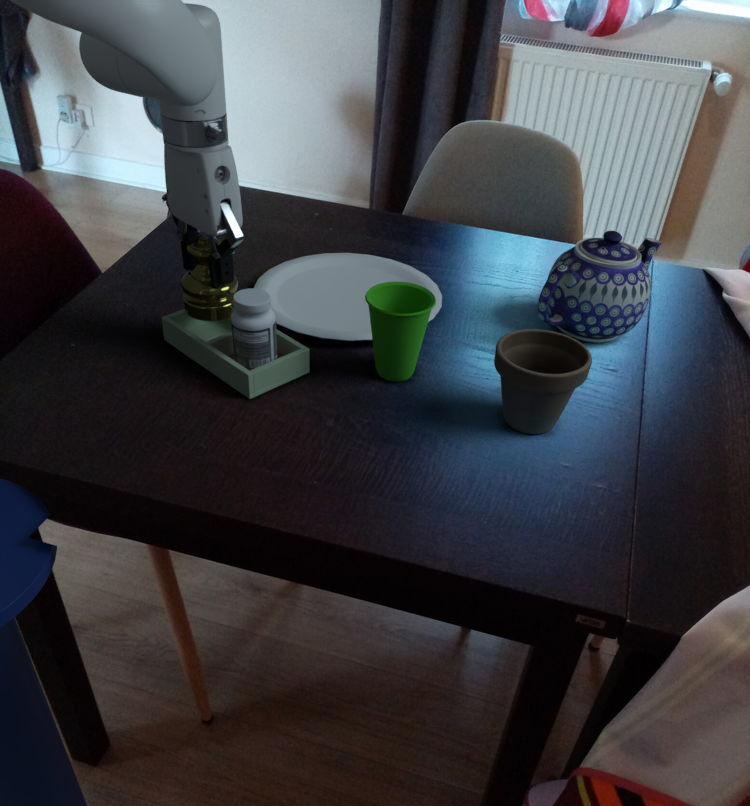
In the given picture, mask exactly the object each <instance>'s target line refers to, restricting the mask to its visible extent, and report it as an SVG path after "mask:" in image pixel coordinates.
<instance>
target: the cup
mask: <svg viewBox="0 0 750 806" xmlns="http://www.w3.org/2000/svg"><path fill="white" fill-rule="evenodd" d="M365 300H366V302H367V303H368V306H369V314H370V323H371V331H372V340H373V341H372V347H373V356H374V364H375V371H376V372H377V374H378V376H379V377H380V378H382V379H384V380H387V381H389V382H390V381H391V382H404V381H407V380H409V379H410V378H411V377H412V375H413V374H414V373H415V371H416V366H417V363H418V359H419V356H420V352H421V349H422V345H423V341H424V338H425V334H426V331H427V327H428V324H429V323H428V320H429V317H430V313H431V310H432V309H433V307H434V306H435V305H436V299H435V296H434V295H433V293H432V292H431V291H429V290H428V289H426V288H424V287H422V286H420V285H417V284H413V283H408V282H386V283H381V284H378V285H375V286H373V287H371V288H370V289H369V290H368V291H367V293H366V295H365Z"/></svg>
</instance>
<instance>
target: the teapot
mask: <svg viewBox="0 0 750 806" xmlns="http://www.w3.org/2000/svg"><path fill="white" fill-rule="evenodd" d="M602 236H603V237H586V238H582V239H580V240H579V241H577V242H576V243H575V246H573V247H571V248H569V249H567V250H566V251H563V253H561V254H560V255H559V256H558V257H556V259H555V261H554V263H553V265H552V266H551V268H550V270H549V273H548V276H547V279H546V280H545V283H544V284H543V286H542V288H541V291H540V293H539V296H538V300H537V301H538V302H537V308H536V309H537V310H536V311H537V316H538V318H539V320H540V321H541V322H542V323H543V324H545V325H548V326H551V327H556V328H558V330H559V331H560V332H562V334H564V335H567V336H569V337H572V338H574V339H575V340H578V341H583V342H587V343H595V344H597V343H600V344H601V343H607V342H613V341H614V340H616V339H617V338H619V336H622V335H624V334H627V333H628V332H630V331H631V330H633V329H634V328H636V327H637V325H638V324H639V322H640V321H641V320H642V318H643V317H644V315H645V312H646V310H647V307H648V305H649V303H650V298H651V293H652V278H651V274H650V272H649V268H650V265H651V263H652V260H653V257H654V255H655V254H656V252H657V250H658V249H659V248H660V246H661V245H662V242H661V241H660V240H658V239H656V238H652V237H645V239H644V240H643V241H642V243H641V244H640V245H639V247H638V249H637V247H636V246H633V245H632V244H629V243H627V242H624V241H622V240H623V235H622V234H621V233H620V232H618V231H616V230H606V231H605V232H604V233H603V235H602ZM549 316H550V317H549Z"/></svg>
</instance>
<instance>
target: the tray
mask: <svg viewBox="0 0 750 806" xmlns="http://www.w3.org/2000/svg"><path fill="white" fill-rule="evenodd" d="M160 319H161V326H162V333H163V339H164V341H165V342H167V343H168V344H169V345H171V346H172V347H174V348H175V349H176V350H178V351H180V352H181V353H182V354H184V355H185V356H186V357H188V358H190V359H191V360H192V361H194V362H195V363H197V364H198V365H199V366H201V367H202V368H204V369H205V370H207V371H208V372H210V373H211V374H213V375H214V376H216V377H217V378H218V379H220V380H221V381H223V383H226V384H227V385H229V386H230V387H231V388H233V389H235V391H237V392H238V393H240V394H242V395H243V396H244V397H246V398H248V399H249V400H251V399H254V398H256V397H258V396H260V395H262V394H265V393H267V392H269V391H271V390H274V389H276V388H278V387H279V386H283V385H284V384H287V383H289V382H291V381H293V380H296V379H297V378H300V377H302V376H304V375H306V374H309V373H310V372H311V370H310V367H311V366H310V348H309V347H307V346H305V345H304V344H302V343H300V342H299V341H297V340H295V339H293V338H292V337H290V336H288V335H287V334H286V333H283V332H282V331H280V330H278V329H277V328H276V336H277V358H278V359H276V360H273V361H271V362H269V363H266V364H264V365H262V366H259V367H257V368H255V369H252V370H250V371H249V370H248V369H246V368H245V367H243V366H242V365H240V364H239V363H237V362H236V361H234V351H233V338H232V326H231V317H230V318H228V319H225V320H221V321H201V320H197V319H194V318H192V317H190V316H189V315H188V314H187V313H186V312H185V308H183V309H180V310H177V311H175V312H172V313H170V314H166V315H163V316H161V318H160Z"/></svg>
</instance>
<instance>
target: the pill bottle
mask: <svg viewBox="0 0 750 806" xmlns="http://www.w3.org/2000/svg"><path fill="white" fill-rule="evenodd" d="M233 306H234V308H235V310H234V312H233V313H232V315H231V326H232V338H233V351H234V361H236V362H237V363H239V364H240V365H242V366H243V367H245V368H246V369H248V370H249V371H250V370H252V369H255V368H257V367H259V366H262V365H264V364H266V363H269V362H271V361H273V360H276V359H278V358H277V336H276V329H277V324H276V317H275V314H274V312H273V311H272V310H271V309H270V307H271V297H270V294H269V293H268V292H266V291H264V290H261V289H255V288H254V287H253V288H252V287H251V288H244V289H240V290H237V292H236V293H235V294H234V296H233Z"/></svg>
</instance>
